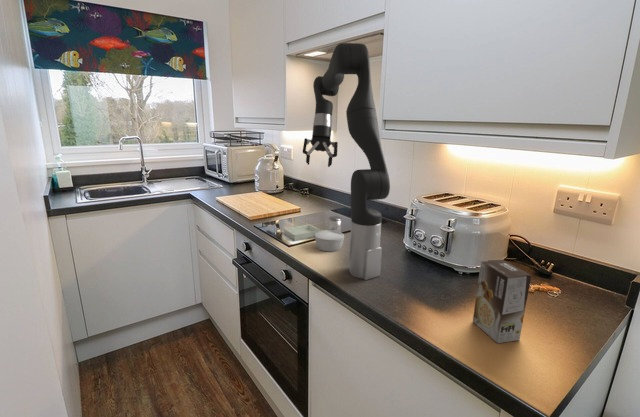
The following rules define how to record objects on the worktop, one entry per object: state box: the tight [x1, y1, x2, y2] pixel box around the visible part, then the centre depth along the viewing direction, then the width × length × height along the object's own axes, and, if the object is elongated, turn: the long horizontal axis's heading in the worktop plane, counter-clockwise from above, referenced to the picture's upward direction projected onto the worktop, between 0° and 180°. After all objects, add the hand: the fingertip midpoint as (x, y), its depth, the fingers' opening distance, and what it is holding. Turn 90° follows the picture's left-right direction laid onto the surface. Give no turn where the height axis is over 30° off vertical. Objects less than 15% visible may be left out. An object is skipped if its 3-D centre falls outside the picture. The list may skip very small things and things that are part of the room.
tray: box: [283, 223, 322, 242], centre depth 143 cm, size 10×13×2 cm
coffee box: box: [472, 259, 532, 344], centre depth 79 cm, size 9×6×16 cm
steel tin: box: [328, 215, 343, 233], centre depth 142 cm, size 5×5×8 cm
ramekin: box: [314, 229, 345, 253], centre depth 130 cm, size 11×11×5 cm
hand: (318, 165), depth 142 cm, fingers open, 8 cm apart
